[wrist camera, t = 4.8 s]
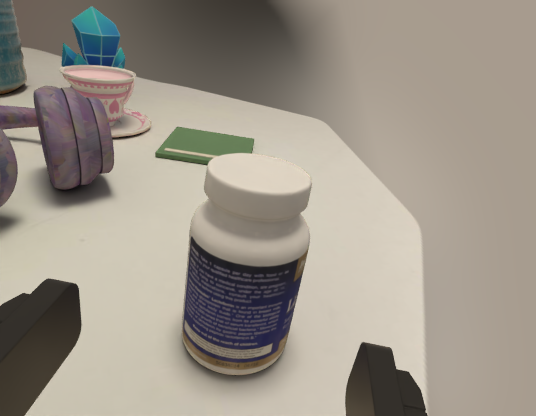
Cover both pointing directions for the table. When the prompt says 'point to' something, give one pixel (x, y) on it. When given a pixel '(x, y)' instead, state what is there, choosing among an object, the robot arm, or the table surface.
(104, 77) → the teacup
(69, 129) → the headphones
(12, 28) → the vase
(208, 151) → the medicine mat
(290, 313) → the pill bottle
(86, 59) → the gemstone
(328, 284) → the table surface
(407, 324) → the table surface
